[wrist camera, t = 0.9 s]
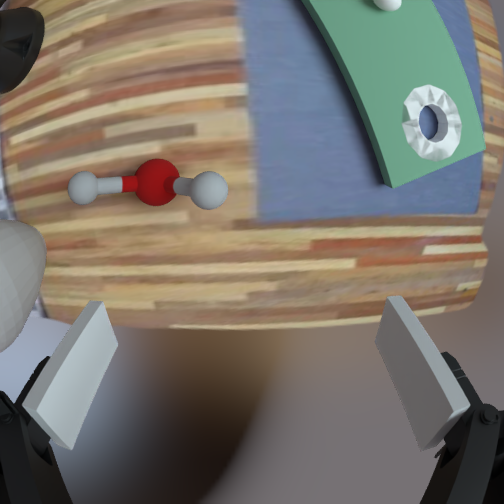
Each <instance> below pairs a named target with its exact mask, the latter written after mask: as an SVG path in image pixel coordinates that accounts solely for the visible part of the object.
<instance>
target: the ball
mask: <svg viewBox="0 0 504 504" xmlns="http://www.w3.org/2000/svg"><path fill="white" fill-rule="evenodd" d="M373 1H374V3H375V4H376V6H378V7H379V8H380V9H382V10H385V11H395V10H397V9H398V8H399V7H400V6H401V2H402V0H373Z"/></svg>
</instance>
